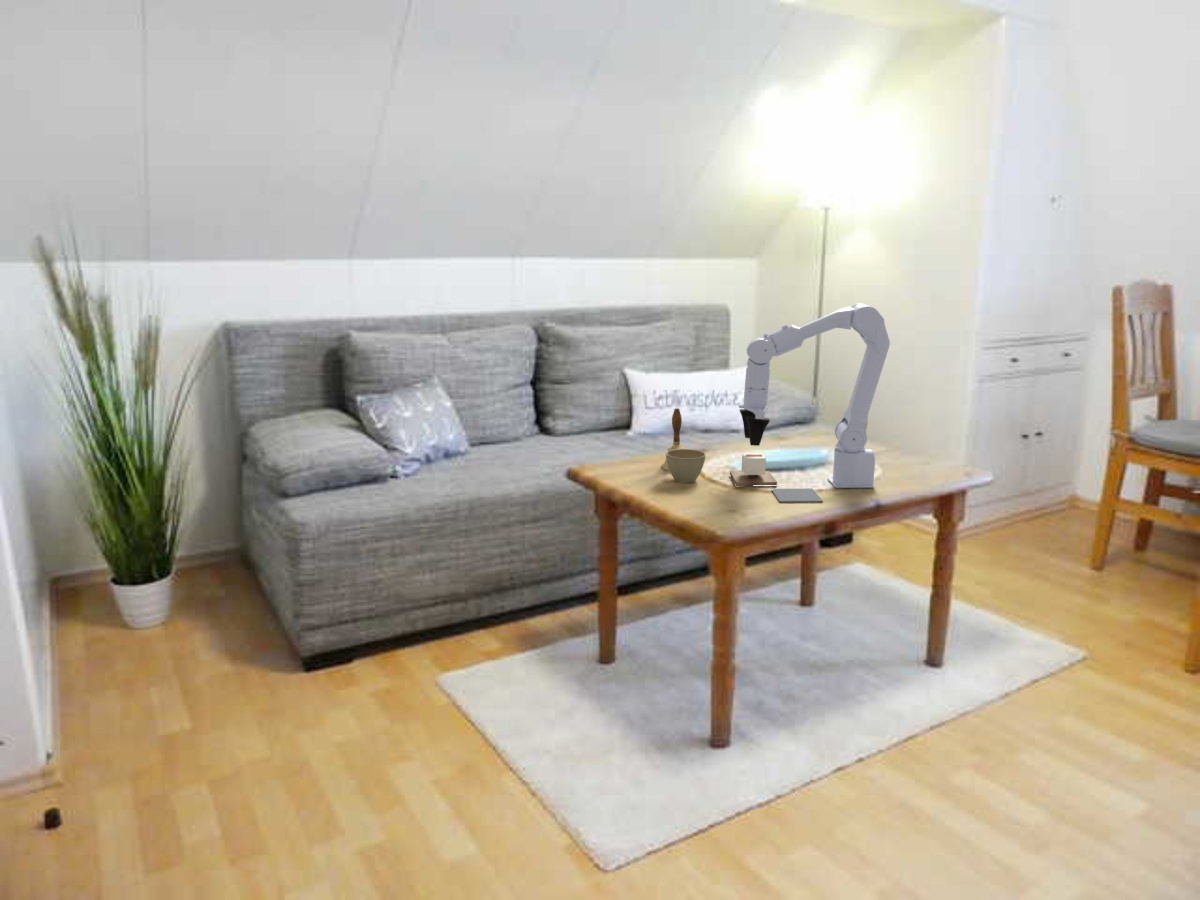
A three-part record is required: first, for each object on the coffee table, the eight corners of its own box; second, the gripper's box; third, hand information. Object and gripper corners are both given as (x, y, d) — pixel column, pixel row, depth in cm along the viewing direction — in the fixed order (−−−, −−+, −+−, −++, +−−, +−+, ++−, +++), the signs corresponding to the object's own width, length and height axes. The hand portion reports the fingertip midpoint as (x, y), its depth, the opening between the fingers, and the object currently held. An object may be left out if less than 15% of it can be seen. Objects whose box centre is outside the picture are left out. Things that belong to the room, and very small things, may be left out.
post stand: (768, 475, 221) (769, 453, 219) (776, 486, 211) (777, 463, 210) (730, 475, 221) (730, 453, 219) (736, 487, 211) (737, 463, 210)
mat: (812, 490, 208) (812, 488, 208) (822, 502, 198) (822, 500, 198) (771, 490, 208) (771, 488, 208) (779, 502, 198) (779, 501, 198)
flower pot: (703, 487, 211) (703, 459, 209) (662, 485, 213) (663, 457, 211) (706, 476, 221) (707, 449, 219) (667, 474, 223) (668, 447, 221)
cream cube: (761, 469, 218) (762, 452, 217) (765, 474, 213) (765, 457, 212) (741, 469, 218) (742, 452, 217) (745, 474, 213) (745, 457, 212)
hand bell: (654, 468, 229) (655, 409, 225) (672, 461, 235) (673, 404, 231) (680, 473, 224) (681, 413, 220) (698, 466, 230) (699, 408, 226)
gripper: (735, 382, 217) (731, 434, 220) (745, 392, 203) (740, 448, 206) (763, 383, 217) (758, 435, 220) (775, 393, 203) (770, 449, 206)
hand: (752, 441), depth 213 cm, fingers open, 7 cm apart
